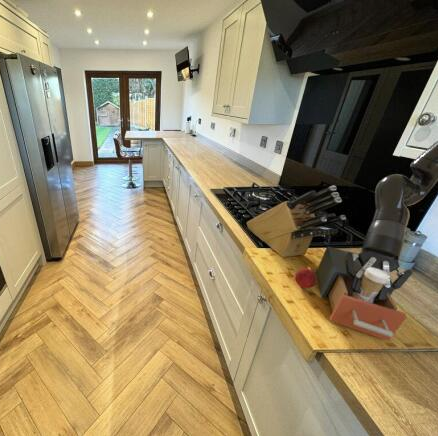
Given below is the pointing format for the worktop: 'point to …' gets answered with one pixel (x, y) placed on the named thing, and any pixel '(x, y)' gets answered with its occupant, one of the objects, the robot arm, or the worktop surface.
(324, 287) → the cabinet
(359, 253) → the robot arm
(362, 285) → the sprinkles bottle
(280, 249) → the knife block
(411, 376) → the worktop surface
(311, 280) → the onion
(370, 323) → the drawer
